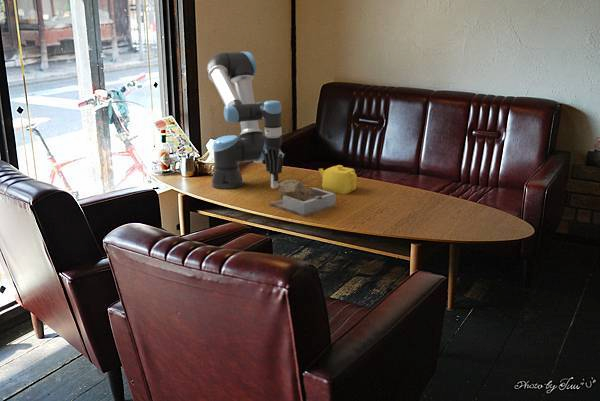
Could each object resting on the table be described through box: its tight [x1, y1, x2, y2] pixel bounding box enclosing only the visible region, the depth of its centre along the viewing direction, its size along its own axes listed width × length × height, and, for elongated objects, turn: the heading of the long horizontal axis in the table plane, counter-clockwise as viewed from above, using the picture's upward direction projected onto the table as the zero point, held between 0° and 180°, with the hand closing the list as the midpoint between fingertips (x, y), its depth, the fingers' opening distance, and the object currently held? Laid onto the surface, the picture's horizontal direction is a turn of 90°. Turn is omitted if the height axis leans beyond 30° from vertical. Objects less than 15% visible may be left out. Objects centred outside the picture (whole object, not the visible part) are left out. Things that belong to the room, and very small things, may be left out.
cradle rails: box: [283, 187, 336, 214], centre depth 276 cm, size 14×19×5 cm
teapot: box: [318, 164, 358, 195], centre depth 302 cm, size 20×12×12 cm, turn 57°
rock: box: [277, 178, 311, 201], centre depth 283 cm, size 11×12×10 cm
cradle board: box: [268, 197, 336, 218], centre depth 280 cm, size 22×19×1 cm
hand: (274, 187), depth 291 cm, fingers closed
